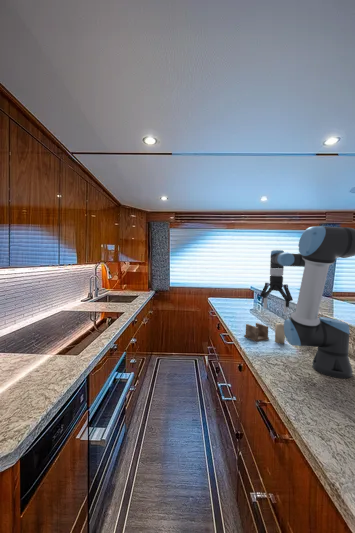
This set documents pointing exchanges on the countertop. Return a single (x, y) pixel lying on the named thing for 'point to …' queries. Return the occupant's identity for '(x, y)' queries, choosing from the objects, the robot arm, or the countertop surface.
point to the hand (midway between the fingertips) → (274, 310)
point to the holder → (257, 332)
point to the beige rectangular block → (279, 333)
